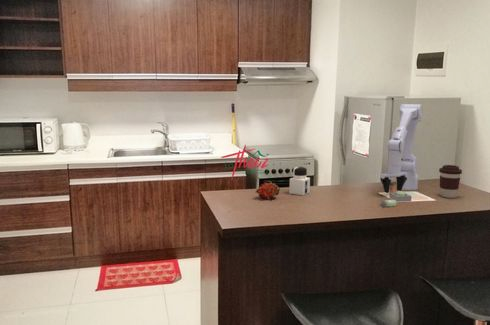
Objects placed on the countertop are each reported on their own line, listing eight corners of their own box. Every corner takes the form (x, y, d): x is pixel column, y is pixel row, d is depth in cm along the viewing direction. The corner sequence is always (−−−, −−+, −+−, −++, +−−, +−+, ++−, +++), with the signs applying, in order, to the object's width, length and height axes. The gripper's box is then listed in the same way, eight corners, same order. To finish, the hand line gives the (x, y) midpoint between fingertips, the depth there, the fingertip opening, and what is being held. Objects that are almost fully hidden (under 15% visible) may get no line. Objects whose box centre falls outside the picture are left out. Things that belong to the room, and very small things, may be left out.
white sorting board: (415, 192, 216) (415, 186, 215) (436, 202, 198) (437, 195, 198) (378, 194, 212) (378, 187, 212) (396, 203, 195) (396, 196, 194)
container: (309, 192, 215) (310, 167, 213) (303, 195, 209) (304, 169, 207) (295, 190, 219) (296, 165, 217) (289, 193, 213) (289, 167, 211)
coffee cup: (437, 197, 206) (440, 167, 204) (436, 193, 215) (439, 163, 213) (460, 199, 202) (463, 168, 200) (458, 195, 211) (461, 165, 209)
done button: (402, 196, 201) (402, 190, 201) (406, 198, 198) (406, 192, 197) (394, 197, 201) (394, 190, 200) (398, 199, 197) (399, 192, 197)
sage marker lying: (392, 205, 191) (393, 198, 191) (396, 208, 188) (397, 200, 187) (380, 206, 190) (380, 199, 190) (383, 208, 187) (384, 200, 186)
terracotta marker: (394, 193, 210) (394, 181, 209) (397, 195, 207) (398, 183, 206) (387, 194, 210) (388, 182, 209) (391, 195, 206) (391, 183, 205)
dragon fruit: (281, 201, 204) (257, 206, 203) (276, 188, 210) (253, 192, 208) (283, 189, 198) (257, 194, 196) (277, 176, 204) (253, 181, 202)
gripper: (400, 162, 212) (398, 188, 214) (376, 163, 207) (375, 191, 209) (411, 164, 206) (409, 192, 208) (386, 166, 200) (385, 194, 203)
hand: (392, 191), depth 208 cm, fingers open, 7 cm apart
